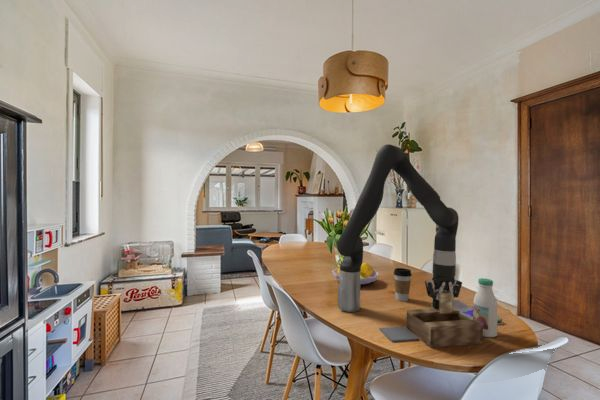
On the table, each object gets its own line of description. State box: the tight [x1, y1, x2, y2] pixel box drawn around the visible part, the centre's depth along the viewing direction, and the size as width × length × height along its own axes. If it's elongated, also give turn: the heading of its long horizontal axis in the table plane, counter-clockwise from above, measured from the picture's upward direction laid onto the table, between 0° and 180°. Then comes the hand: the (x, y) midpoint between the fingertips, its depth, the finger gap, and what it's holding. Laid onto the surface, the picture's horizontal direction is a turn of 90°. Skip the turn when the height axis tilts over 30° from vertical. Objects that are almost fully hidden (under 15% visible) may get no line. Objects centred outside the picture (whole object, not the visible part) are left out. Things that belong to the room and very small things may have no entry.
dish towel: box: [430, 299, 505, 326], centre depth 129 cm, size 18×24×3 cm
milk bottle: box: [472, 277, 498, 338], centre depth 111 cm, size 8×8×20 cm
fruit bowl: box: [331, 262, 380, 286], centre depth 178 cm, size 28×27×11 cm
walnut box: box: [406, 307, 484, 349], centre depth 109 cm, size 20×15×7 cm
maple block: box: [432, 289, 454, 313], centre depth 109 cm, size 4×4×7 cm
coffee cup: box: [393, 267, 412, 302], centre depth 147 cm, size 8×8×15 cm
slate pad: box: [378, 325, 419, 343], centre depth 109 cm, size 10×10×1 cm
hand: (442, 308), depth 109 cm, fingers closed on maple block, 4 cm apart
